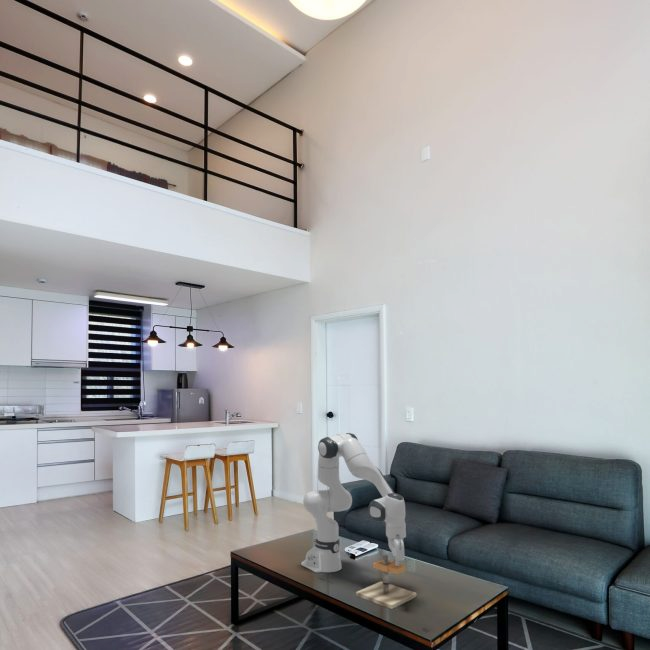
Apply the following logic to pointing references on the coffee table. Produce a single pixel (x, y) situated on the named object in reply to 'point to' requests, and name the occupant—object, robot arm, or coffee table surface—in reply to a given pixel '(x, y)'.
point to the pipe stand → (386, 592)
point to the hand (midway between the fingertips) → (396, 564)
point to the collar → (389, 567)
